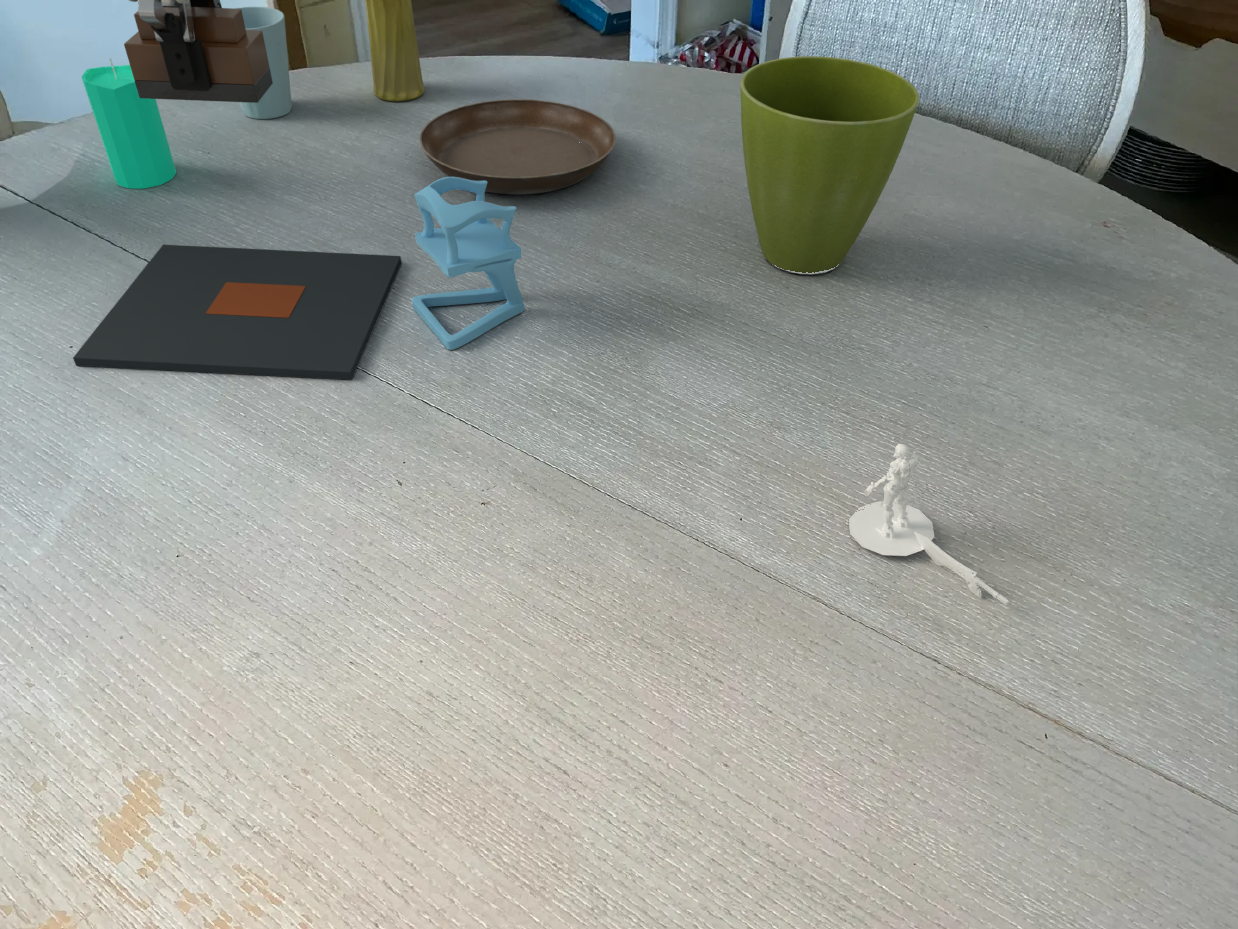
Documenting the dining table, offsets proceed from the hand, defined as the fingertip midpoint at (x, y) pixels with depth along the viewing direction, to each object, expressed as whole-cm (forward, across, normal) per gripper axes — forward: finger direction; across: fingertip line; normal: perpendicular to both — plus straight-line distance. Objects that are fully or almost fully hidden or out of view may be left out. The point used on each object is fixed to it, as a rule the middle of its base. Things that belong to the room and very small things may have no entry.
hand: (202, 74), depth 85 cm
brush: (+1, 0, 0) cm, 1 cm away
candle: (+16, -12, -14) cm, 24 cm away
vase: (+15, -36, +8) cm, 40 cm away
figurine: (+15, +38, +57) cm, 71 cm away
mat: (+15, +12, +5) cm, 20 cm away
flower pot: (+15, -1, +53) cm, 55 cm away
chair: (+15, +12, +24) cm, 31 cm away
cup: (+15, -30, -6) cm, 34 cm away
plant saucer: (+15, -18, +24) cm, 34 cm away
